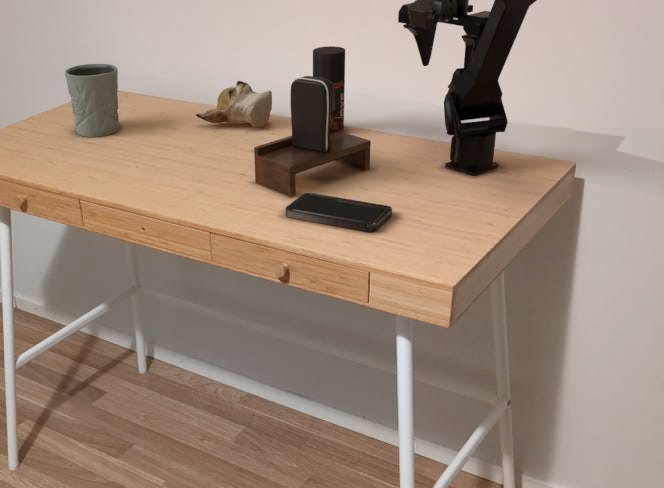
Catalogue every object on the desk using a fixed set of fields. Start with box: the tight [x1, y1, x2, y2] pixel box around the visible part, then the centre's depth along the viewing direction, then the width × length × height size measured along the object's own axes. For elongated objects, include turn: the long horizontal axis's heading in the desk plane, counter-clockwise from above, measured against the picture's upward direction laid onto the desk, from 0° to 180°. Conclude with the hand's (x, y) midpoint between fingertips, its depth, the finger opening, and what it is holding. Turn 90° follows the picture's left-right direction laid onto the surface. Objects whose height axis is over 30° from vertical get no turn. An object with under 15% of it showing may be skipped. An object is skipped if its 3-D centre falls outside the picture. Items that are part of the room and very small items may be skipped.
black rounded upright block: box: [290, 75, 335, 152], centre depth 146 cm, size 7×4×11 cm, turn 50°
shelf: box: [253, 123, 372, 198], centre depth 150 cm, size 9×18×6 cm, turn 127°
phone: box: [285, 192, 393, 233], centre depth 137 cm, size 8×1×15 cm
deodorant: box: [312, 45, 346, 132], centre depth 168 cm, size 6×6×15 cm
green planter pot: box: [64, 63, 120, 138], centre depth 177 cm, size 10×10×12 cm
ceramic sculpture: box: [195, 80, 273, 128], centre depth 177 cm, size 11×9×15 cm
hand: (445, 70), depth 156 cm, fingers open, 9 cm apart
